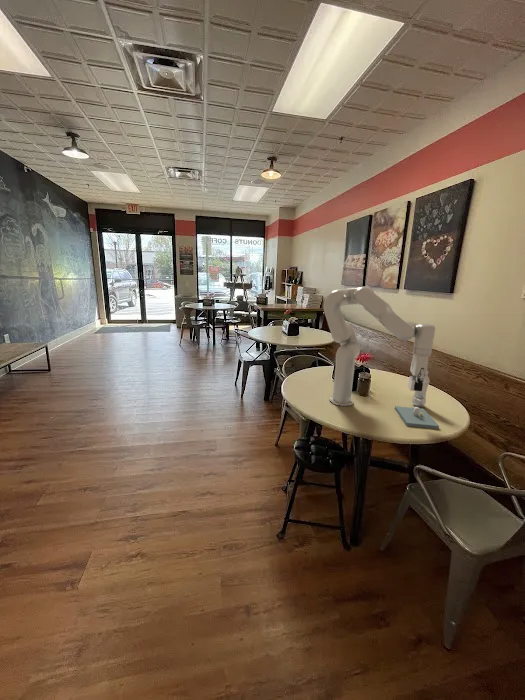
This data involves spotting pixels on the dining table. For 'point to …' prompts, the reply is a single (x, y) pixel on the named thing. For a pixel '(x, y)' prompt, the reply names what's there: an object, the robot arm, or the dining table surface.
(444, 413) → the dining table surface
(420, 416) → the base plate
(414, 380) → the collar
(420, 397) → the plastic bottle
